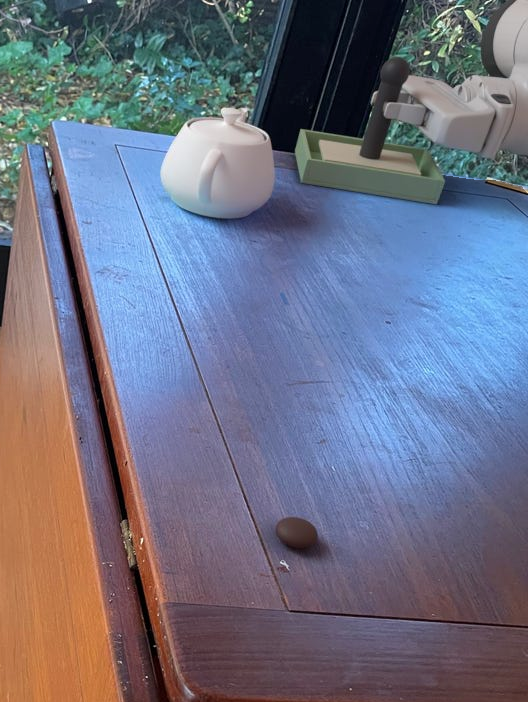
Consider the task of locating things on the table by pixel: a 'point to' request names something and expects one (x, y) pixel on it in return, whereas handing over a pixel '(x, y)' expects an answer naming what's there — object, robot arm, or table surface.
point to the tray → (368, 170)
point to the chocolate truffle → (296, 532)
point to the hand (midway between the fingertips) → (378, 104)
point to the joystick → (377, 129)
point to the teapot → (220, 166)
